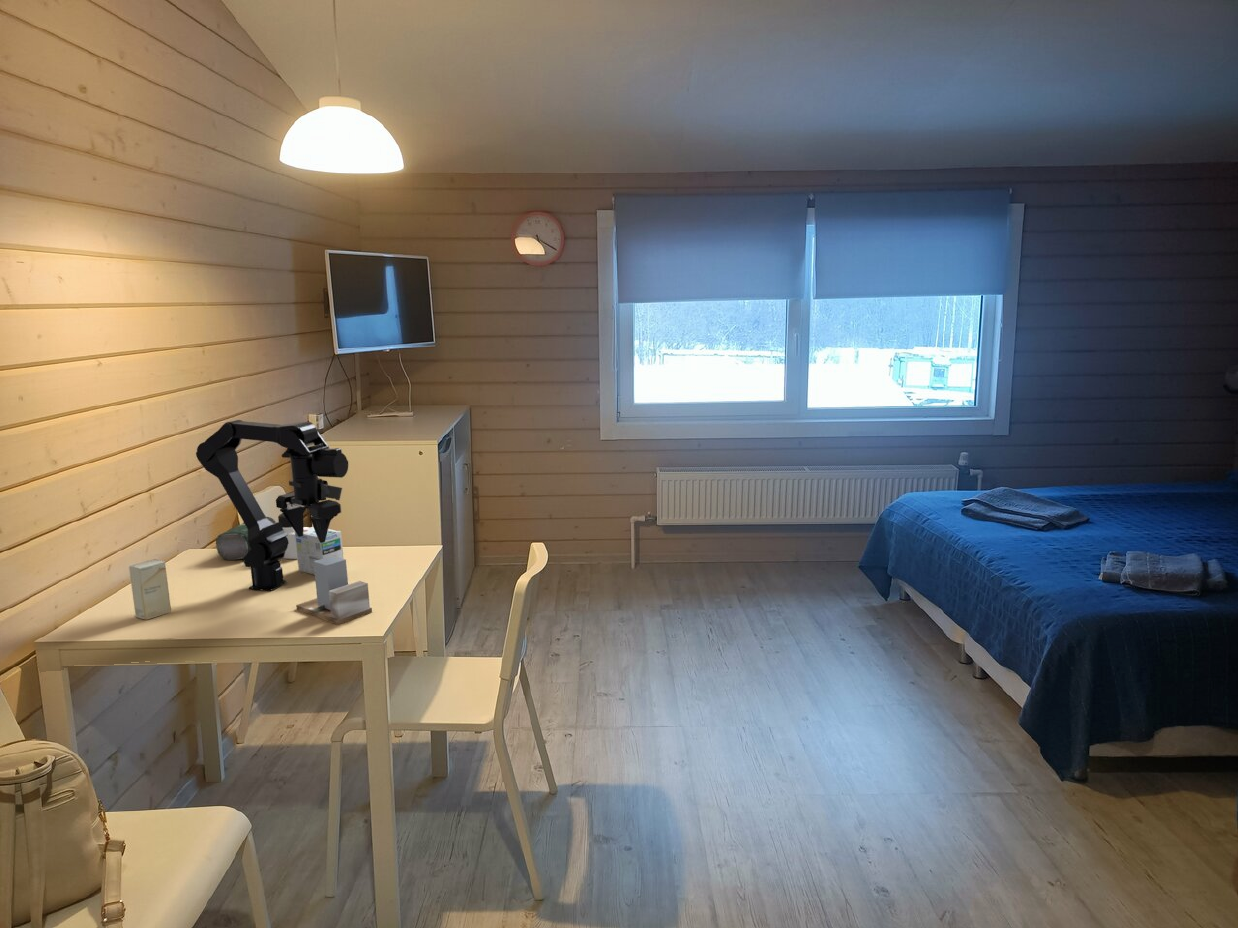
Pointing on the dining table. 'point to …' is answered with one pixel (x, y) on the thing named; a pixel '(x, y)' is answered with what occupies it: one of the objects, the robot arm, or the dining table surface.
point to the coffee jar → (234, 542)
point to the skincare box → (150, 589)
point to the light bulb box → (317, 548)
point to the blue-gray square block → (329, 578)
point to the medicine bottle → (289, 537)
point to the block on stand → (341, 604)
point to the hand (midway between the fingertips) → (311, 539)
